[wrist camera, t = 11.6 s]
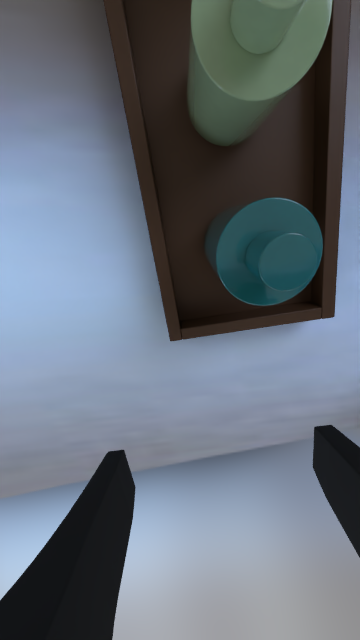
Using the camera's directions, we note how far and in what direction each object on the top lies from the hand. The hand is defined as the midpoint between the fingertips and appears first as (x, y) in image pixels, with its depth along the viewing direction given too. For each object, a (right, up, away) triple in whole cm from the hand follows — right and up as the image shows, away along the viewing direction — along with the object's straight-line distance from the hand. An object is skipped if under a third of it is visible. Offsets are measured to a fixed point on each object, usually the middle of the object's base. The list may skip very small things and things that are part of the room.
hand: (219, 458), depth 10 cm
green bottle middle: (+1, +17, +4) cm, 17 cm away
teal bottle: (+2, +10, +6) cm, 12 cm away
